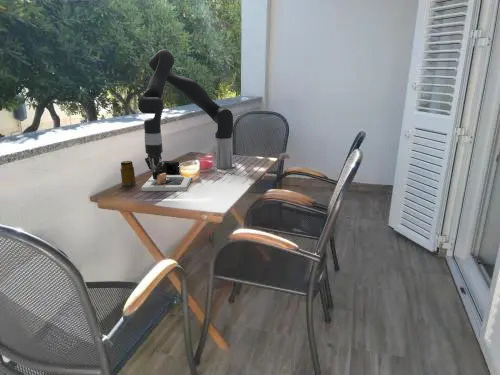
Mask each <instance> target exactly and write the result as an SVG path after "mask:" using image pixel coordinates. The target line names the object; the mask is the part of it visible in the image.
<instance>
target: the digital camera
mask: <svg viewBox="0 0 500 375" xmlns="http://www.w3.org/2000/svg"><path fill="white" fill-rule="evenodd" d="M162 161H163V162H165V165H164V167H163V169H162V171H159V174H163V173H166V175H178V174H180V173H179V170H180V162H179V161H176V160H175V161H174V160H162ZM178 166H179V167H178Z"/></svg>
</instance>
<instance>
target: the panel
mask: <svg viewBox="0 0 500 375" xmlns="http://www.w3.org/2000/svg"><path fill="white" fill-rule="evenodd" d="M181 175H182V174H179V175H178V174H176V175H175V174H166V178H176V179H179V180H180V181H182V182H180V185H157V183H156V182H157V180H154V179H153V174H152V175H151V177H150V178H149V179H148V180H147V181H146V182H144V184H143V185H142V186H141V192H169V191H170V192H177V191H178V192H179V191H180V192H181V191H184V192H185V191H187V189H188V188H189V186H190V184H191V181H192V180H191V177H185V178H184V177H183V176H181ZM155 184H156V185H155Z"/></svg>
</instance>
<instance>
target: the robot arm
mask: <svg viewBox="0 0 500 375" xmlns="http://www.w3.org/2000/svg"><path fill="white" fill-rule="evenodd" d="M148 65H149V68H150V69H151V70H152V71H153V74H152V75H151V77H150V79H149V81H148V83H147V88H146V90H145V91H144V92H143V93H142V95H140V98H139V99H138V103H137V107H138V110H139V112H141V113H142V114H147V115H148V114H150V115H153V116H154V117H152V118H147V119H145V120H144V122H143V127H144V128H143V129H144V148H145V154H147V157H145V158H144V161H145V163H146V165H147V167H148V169H149V170H150V171H151V172H152V175H153V179H154V180H157V175H160V173H159V171H162V169H163V167H164V165H165V162H163V161H164V160H162V155H161V154H163V136H162V129H161V127H162V126H161V121H162V116H163V115H162V114H163V112H164V102H163V100H162V99H161V98H162V97H163V93H164V89H165V85H166V82H167V83H169V84H170V85H171V86H173V87H174V88H176V89H177V90H178V91H179V92H180V93H181V94H182V95H183V96H185V97H186V98H187V100H189V101H190V102H191V103H193V104H194V105H195V106H197V107H198V108H200V109H201V110H202V111H204V112H205V113H206V115H208V116H209V117H210V118H211V120H212V121H213V122H214V123H216V124H217V131H216V132H215V140H214V141H215V160H216V161H215V163H216V166H215V168H216V169H221V170H230V169H233V163H234V161H233V138H232V137H233V133H234V114H233V112H232V111H231V110H230V109H228V108H223V107H222V106H220V105H219V104H217V103H216V102H215V101H214V100H212V98H211V97H210V96H209V94H208V93H207V91H206V90H205V89H204V87H203V86H201V85H200V84H199V83H198V82H197V81H196V80H194V79H192V78H188V77H185V76H181V75H178V74H176V73H174V72H173V71H171V70H172V68H173V67H174V65H175V58H174V55H173V54H172V53H171V51H170V50H167V49H164V48H163V49H160V50H159V51H157V52H156V53H155V54H154V55H153V56H152V57H151V58H150V59H149V61H148Z"/></svg>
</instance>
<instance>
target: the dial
mask: <svg viewBox="0 0 500 375" xmlns="http://www.w3.org/2000/svg"><path fill="white" fill-rule="evenodd" d="M166 175H167V174H166V173H163V174H161V173H159V175H157V181H156V183H155V184H156V185H181V180H179V179H176V178H166Z"/></svg>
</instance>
